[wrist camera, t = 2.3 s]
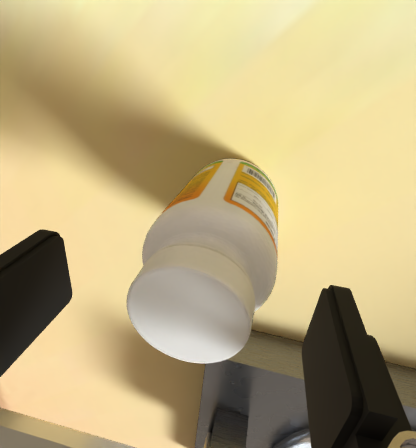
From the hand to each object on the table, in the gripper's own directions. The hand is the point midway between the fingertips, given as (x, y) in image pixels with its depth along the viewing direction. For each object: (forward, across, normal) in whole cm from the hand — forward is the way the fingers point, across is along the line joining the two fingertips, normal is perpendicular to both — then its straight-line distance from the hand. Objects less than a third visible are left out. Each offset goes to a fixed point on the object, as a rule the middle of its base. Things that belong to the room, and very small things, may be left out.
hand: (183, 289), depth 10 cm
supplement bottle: (+8, -1, 0) cm, 8 cm away
